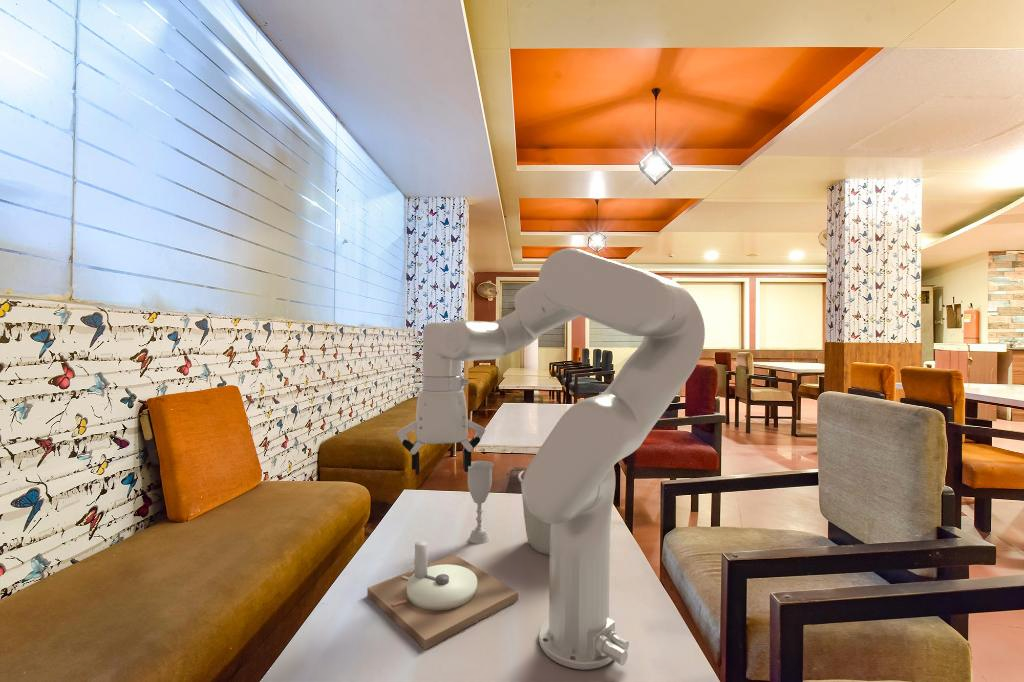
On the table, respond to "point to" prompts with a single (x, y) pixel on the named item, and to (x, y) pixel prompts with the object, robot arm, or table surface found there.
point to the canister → (535, 527)
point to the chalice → (479, 495)
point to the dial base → (440, 623)
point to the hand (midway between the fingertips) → (441, 471)
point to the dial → (439, 583)
